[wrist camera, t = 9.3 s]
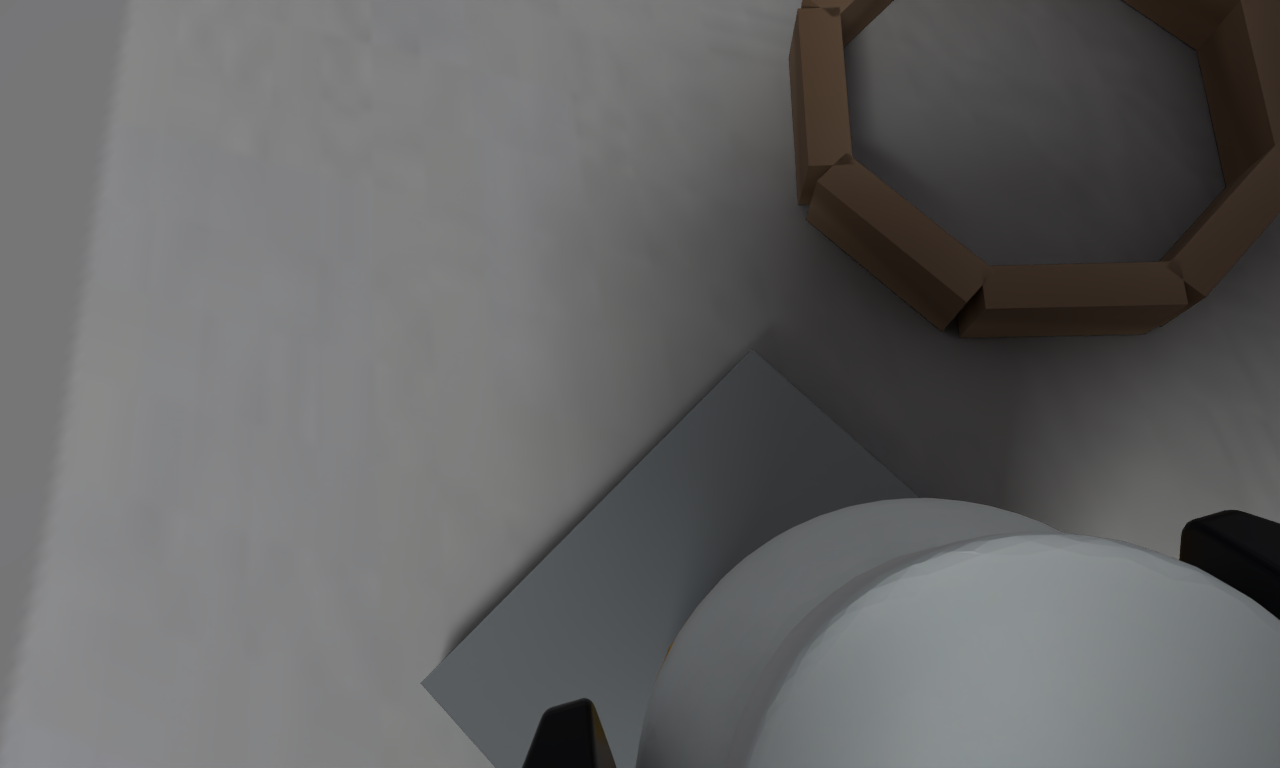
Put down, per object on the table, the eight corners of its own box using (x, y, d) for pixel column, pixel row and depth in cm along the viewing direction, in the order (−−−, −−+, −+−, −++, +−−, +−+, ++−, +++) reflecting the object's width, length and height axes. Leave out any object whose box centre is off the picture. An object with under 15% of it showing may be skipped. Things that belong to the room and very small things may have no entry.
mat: (1203, 767, 15) (1232, 774, 14) (882, 1184, 13) (894, 1216, 12) (749, 362, 17) (752, 348, 16) (433, 681, 16) (420, 683, 15)
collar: (1349, 113, 18) (1408, 65, 16) (1066, 434, 16) (1103, 413, 15) (983, -132, 20) (1007, -193, 19) (700, 131, 18) (702, 88, 17)
